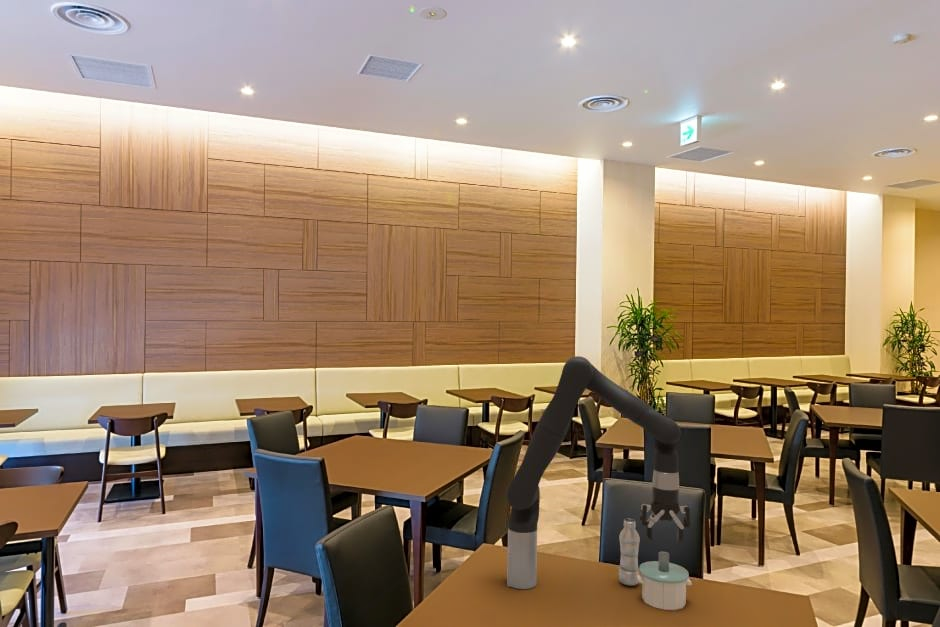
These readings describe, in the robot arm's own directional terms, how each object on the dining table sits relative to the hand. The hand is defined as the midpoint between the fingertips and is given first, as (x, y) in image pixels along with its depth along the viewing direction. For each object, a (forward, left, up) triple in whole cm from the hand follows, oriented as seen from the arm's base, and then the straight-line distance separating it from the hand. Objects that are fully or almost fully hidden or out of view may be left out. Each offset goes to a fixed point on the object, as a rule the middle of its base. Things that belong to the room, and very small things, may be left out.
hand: (664, 540), depth 182 cm
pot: (0, 0, -18) cm, 18 cm away
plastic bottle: (-8, +11, -18) cm, 23 cm away
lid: (0, 0, -10) cm, 10 cm away
